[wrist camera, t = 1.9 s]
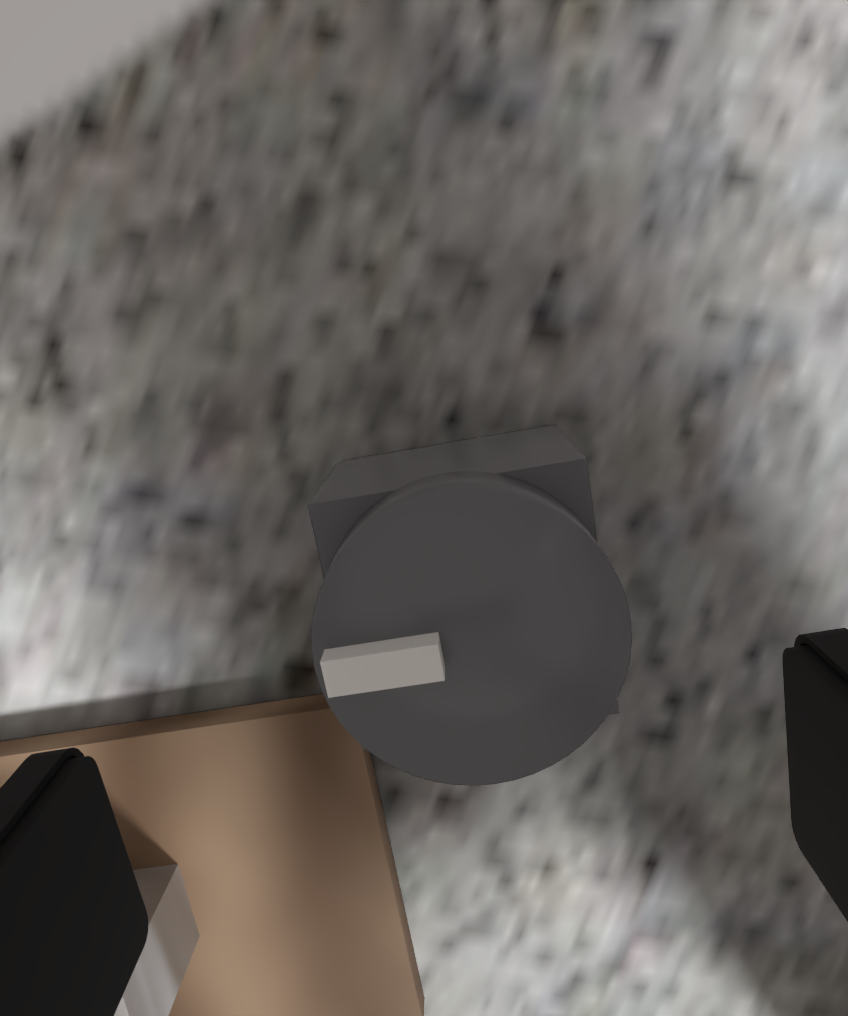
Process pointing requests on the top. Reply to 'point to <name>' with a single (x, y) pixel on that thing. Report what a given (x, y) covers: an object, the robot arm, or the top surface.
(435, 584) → the knob
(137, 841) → the board
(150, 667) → the top surface
